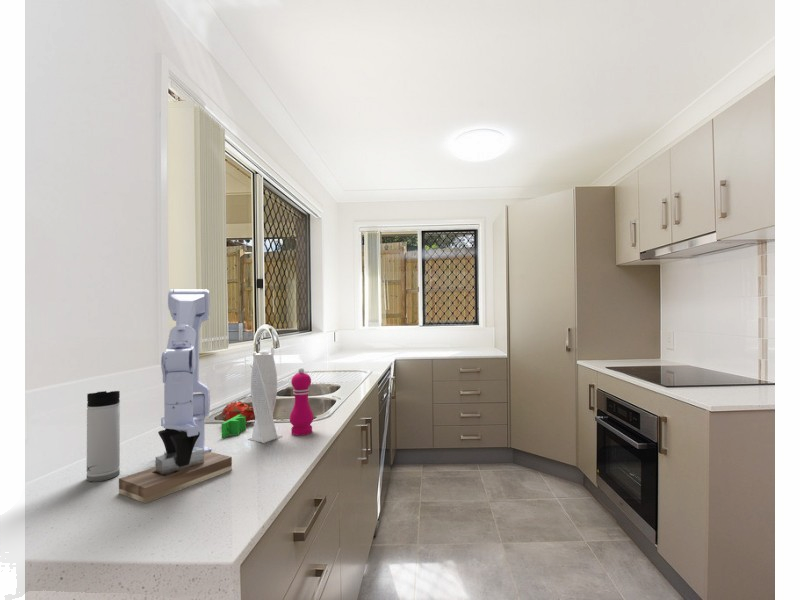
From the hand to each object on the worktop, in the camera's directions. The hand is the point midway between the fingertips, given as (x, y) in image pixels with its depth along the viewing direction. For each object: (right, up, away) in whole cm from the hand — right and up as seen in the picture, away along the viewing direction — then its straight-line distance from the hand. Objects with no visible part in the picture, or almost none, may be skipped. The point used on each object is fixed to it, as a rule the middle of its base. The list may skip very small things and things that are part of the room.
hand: (178, 463), depth 94 cm
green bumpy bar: (-2, -6, +38) cm, 38 cm away
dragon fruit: (-4, -6, +48) cm, 48 cm away
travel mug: (-19, -5, +3) cm, 20 cm away
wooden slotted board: (0, -4, 0) cm, 4 cm away
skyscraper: (+10, -5, +30) cm, 32 cm away
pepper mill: (+19, -5, +36) cm, 41 cm away
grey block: (0, -3, 0) cm, 3 cm away
